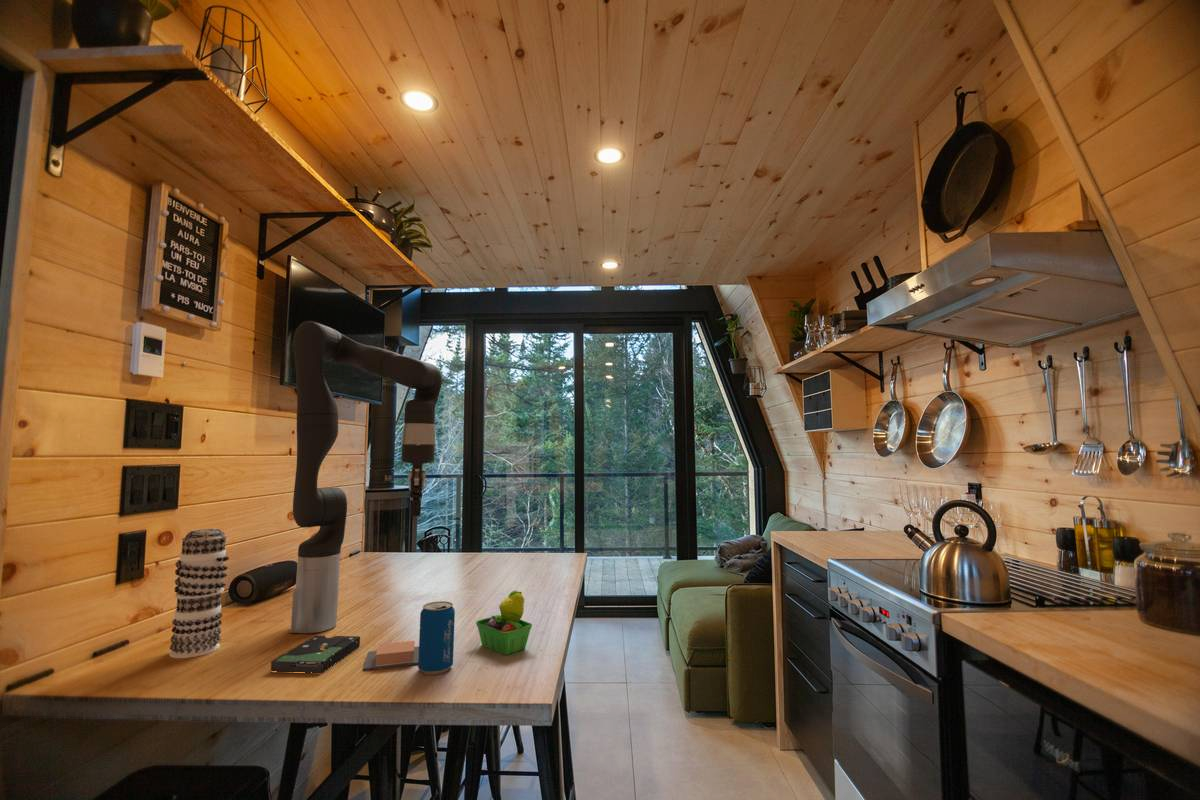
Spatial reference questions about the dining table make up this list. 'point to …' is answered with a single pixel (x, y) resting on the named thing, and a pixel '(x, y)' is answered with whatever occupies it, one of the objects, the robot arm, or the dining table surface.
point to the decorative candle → (199, 594)
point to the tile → (395, 653)
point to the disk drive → (316, 654)
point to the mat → (372, 660)
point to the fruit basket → (506, 626)
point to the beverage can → (436, 637)
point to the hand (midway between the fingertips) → (415, 516)
